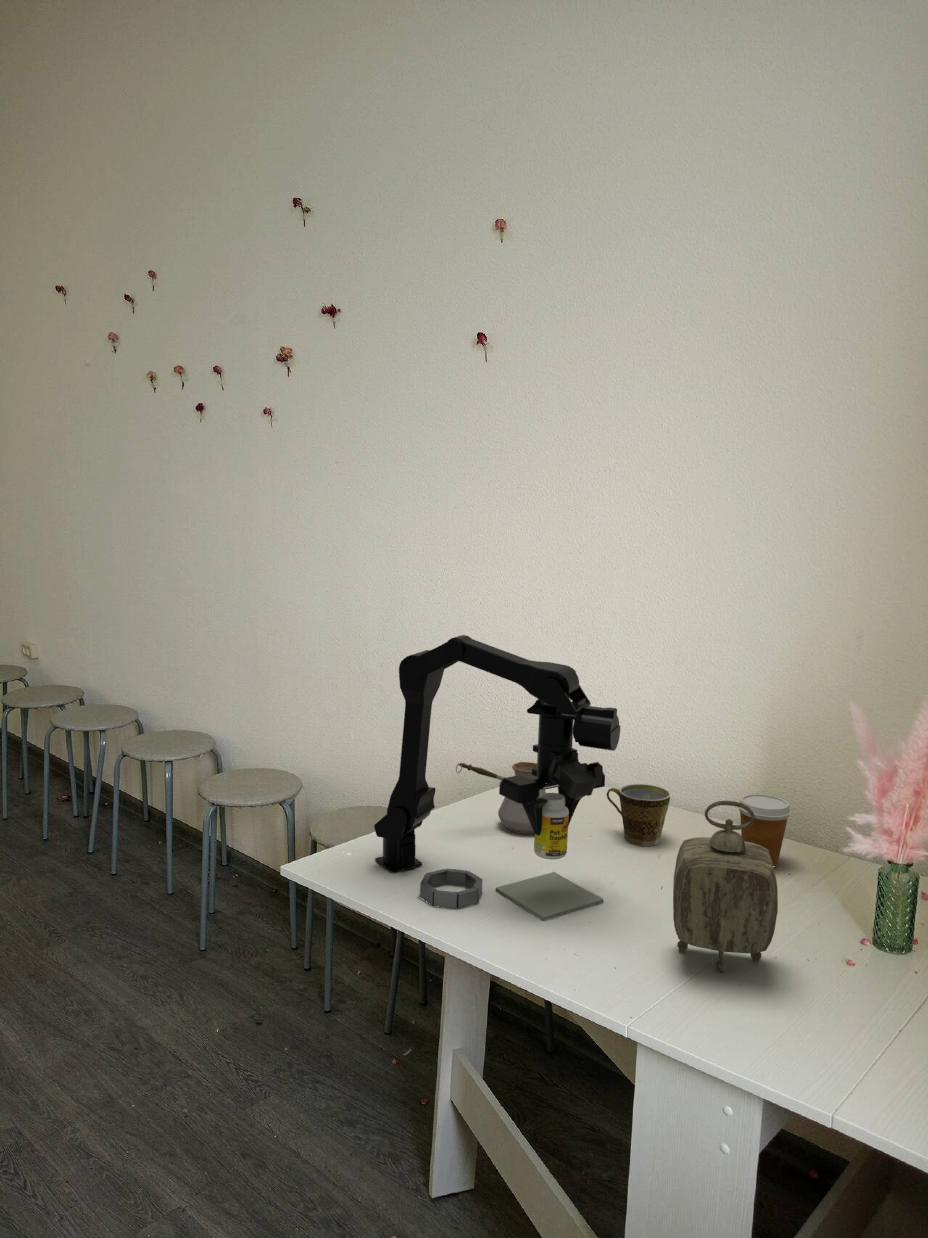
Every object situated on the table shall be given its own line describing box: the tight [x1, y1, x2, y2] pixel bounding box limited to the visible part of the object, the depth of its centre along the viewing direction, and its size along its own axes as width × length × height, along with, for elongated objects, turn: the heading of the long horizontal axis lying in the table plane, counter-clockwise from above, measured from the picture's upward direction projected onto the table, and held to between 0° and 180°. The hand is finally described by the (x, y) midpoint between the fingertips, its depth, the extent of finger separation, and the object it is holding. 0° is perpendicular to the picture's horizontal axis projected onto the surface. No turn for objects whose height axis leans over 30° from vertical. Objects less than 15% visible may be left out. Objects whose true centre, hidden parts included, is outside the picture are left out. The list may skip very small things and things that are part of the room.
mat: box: [495, 871, 604, 922], centre depth 160 cm, size 13×13×1 cm
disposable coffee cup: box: [737, 793, 792, 866], centre depth 177 cm, size 10×10×12 cm
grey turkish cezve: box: [455, 761, 547, 835], centre depth 189 cm, size 21×12×15 cm, turn 113°
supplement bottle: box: [533, 792, 569, 860], centre depth 158 cm, size 6×6×10 cm
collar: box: [419, 868, 483, 910], centre depth 159 cm, size 10×10×2 cm
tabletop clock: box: [672, 800, 779, 973], centre depth 137 cm, size 14×9×25 cm, turn 77°
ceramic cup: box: [606, 783, 671, 847], centre depth 187 cm, size 13×10×10 cm
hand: (551, 831), depth 158 cm, fingers closed on supplement bottle, 6 cm apart
